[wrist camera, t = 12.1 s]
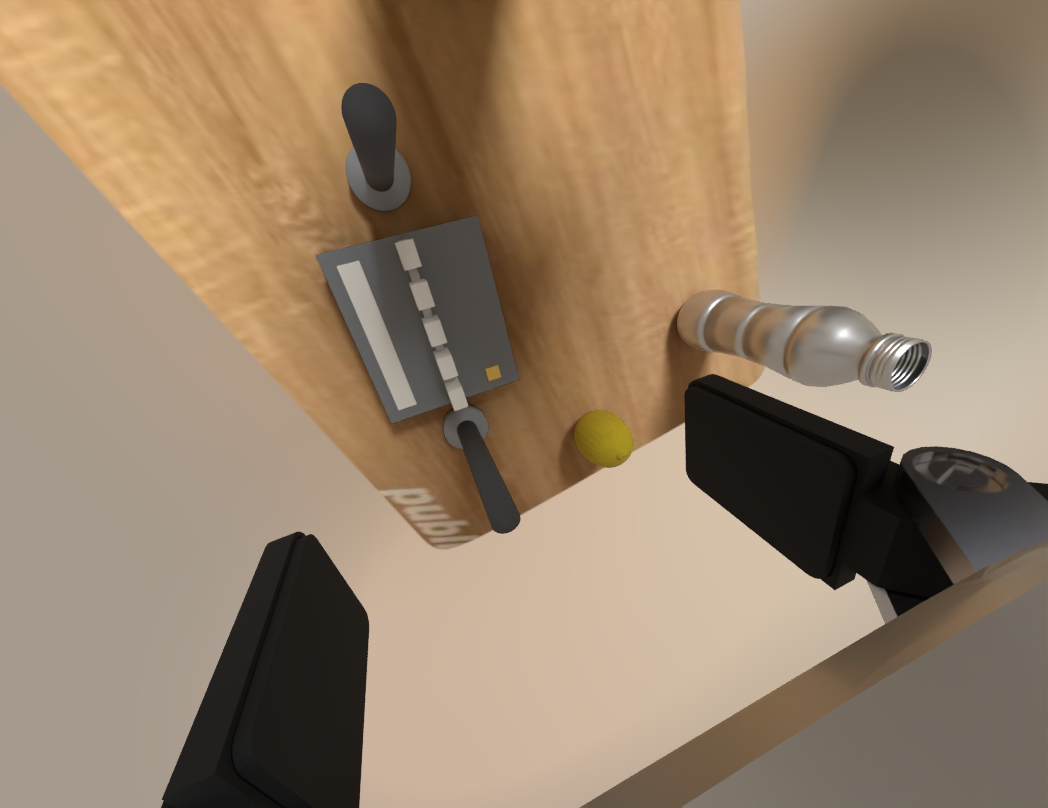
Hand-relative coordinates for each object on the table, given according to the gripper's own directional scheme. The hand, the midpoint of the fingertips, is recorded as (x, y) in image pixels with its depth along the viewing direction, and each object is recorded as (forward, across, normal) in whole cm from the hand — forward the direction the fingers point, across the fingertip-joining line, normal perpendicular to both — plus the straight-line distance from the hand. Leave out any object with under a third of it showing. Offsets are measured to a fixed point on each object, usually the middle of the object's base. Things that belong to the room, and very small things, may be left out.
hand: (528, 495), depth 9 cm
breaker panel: (+27, 0, +1) cm, 27 cm away
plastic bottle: (+27, -28, +9) cm, 40 cm away
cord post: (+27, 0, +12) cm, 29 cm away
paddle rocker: (+24, 0, +1) cm, 24 cm away
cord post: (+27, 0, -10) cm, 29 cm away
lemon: (+27, -13, +17) cm, 34 cm away
